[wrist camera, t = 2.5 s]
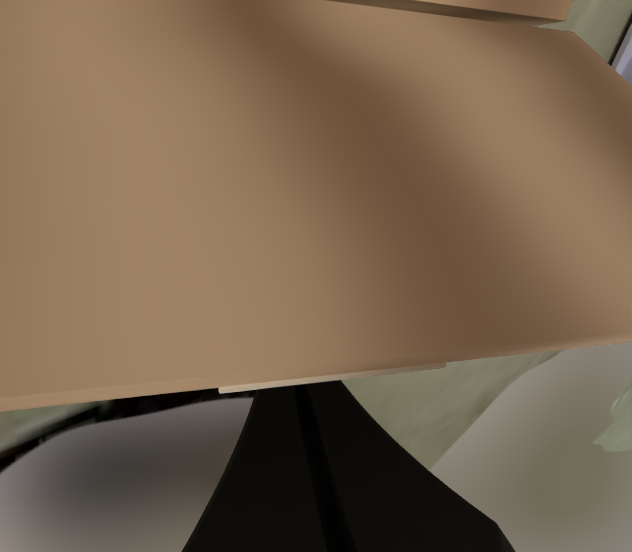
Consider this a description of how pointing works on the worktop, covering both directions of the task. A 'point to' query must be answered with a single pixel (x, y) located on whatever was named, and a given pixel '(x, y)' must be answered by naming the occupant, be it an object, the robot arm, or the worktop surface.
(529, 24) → the box
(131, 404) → the worktop surface
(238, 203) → the lid
